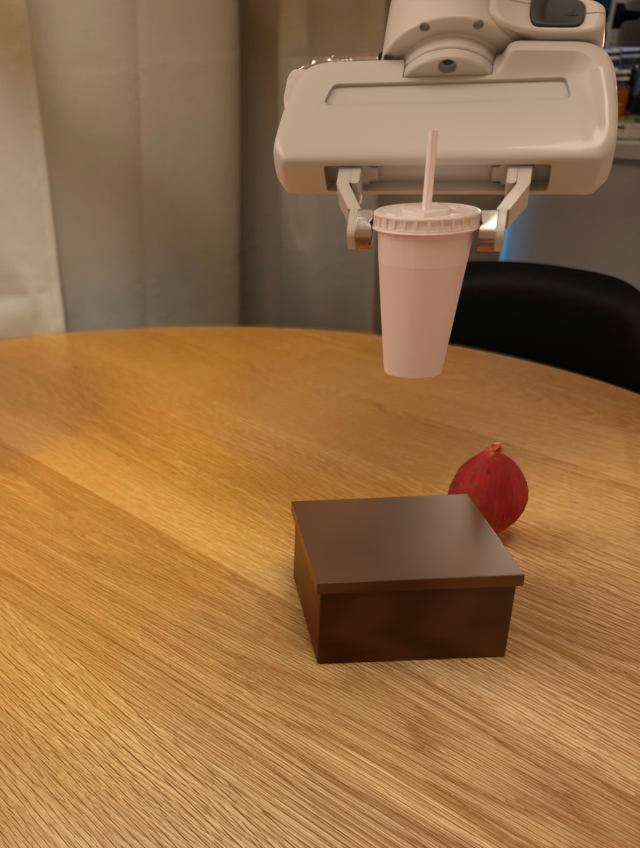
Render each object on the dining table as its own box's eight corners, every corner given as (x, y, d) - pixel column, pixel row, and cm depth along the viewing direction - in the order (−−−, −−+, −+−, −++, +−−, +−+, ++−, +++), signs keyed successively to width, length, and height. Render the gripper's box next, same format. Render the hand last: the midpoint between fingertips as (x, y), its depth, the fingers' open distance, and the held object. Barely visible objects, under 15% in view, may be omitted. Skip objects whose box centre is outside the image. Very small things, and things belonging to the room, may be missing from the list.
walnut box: (458, 568, 75) (468, 493, 72) (511, 658, 64) (525, 574, 61) (288, 575, 75) (291, 500, 72) (313, 666, 64) (317, 583, 61)
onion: (428, 538, 79) (438, 441, 75) (472, 517, 82) (484, 422, 78) (492, 562, 75) (506, 461, 71) (535, 539, 78) (552, 440, 74)
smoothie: (356, 382, 64) (371, 135, 56) (369, 354, 69) (384, 125, 62) (461, 387, 62) (490, 133, 55) (466, 358, 67) (493, 123, 60)
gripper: (284, 19, 64) (247, 209, 61) (635, 2, 58) (612, 211, 55) (296, 95, 69) (263, 271, 67) (615, 86, 64) (593, 279, 61)
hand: (423, 244), depth 61 cm, fingers closed on smoothie, 6 cm apart
